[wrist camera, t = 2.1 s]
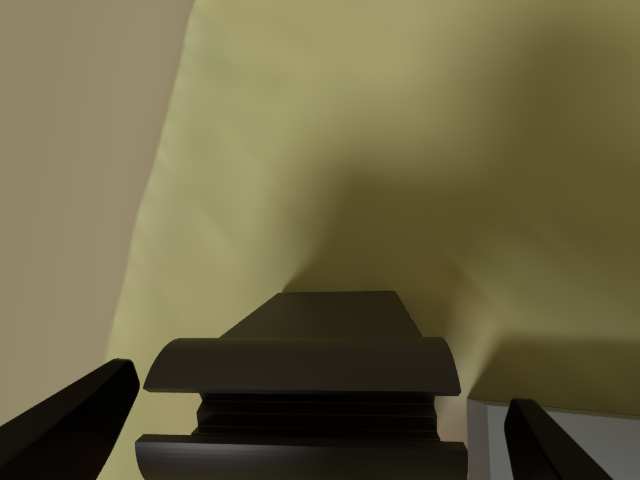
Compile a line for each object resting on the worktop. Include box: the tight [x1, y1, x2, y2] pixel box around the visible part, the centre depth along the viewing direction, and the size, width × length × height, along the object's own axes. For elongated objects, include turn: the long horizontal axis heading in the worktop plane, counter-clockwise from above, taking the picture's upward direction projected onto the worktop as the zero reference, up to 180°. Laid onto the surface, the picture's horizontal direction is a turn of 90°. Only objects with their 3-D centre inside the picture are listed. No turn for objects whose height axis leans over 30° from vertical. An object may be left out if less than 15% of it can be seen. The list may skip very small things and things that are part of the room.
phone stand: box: [135, 291, 468, 480], centre depth 12 cm, size 9×6×12 cm, turn 179°
